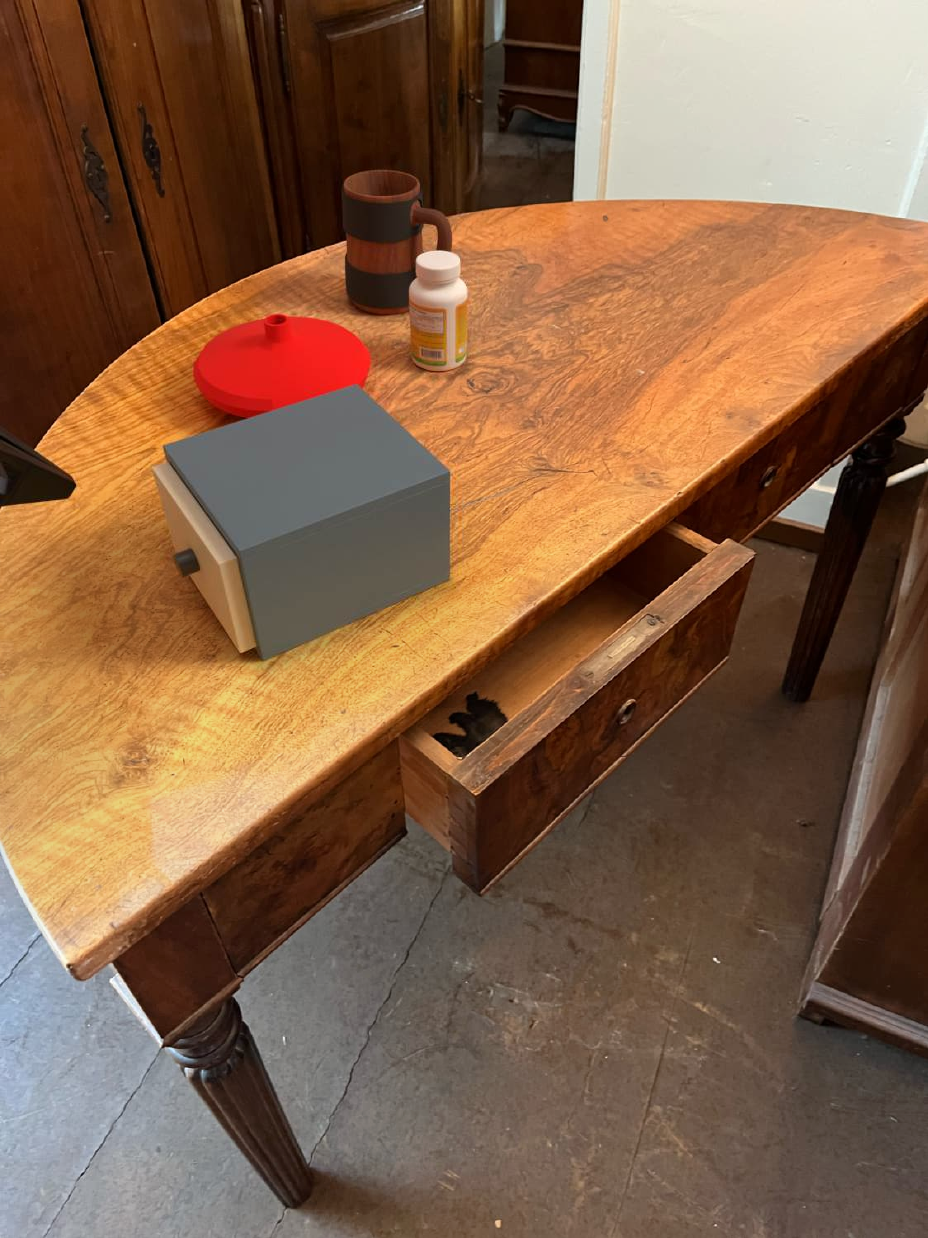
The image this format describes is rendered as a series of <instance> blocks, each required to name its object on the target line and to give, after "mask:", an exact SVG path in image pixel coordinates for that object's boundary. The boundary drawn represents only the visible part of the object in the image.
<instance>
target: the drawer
mask: <svg viewBox="0 0 928 1238" xmlns="http://www.w3.org/2000/svg"><path fill="white" fill-rule="evenodd" d="M151 471H152V475H153V478H154V482H155V486H156V489H157V492H158V496H159V500H160V503H161V506H162V511H163V513H164V516H165V520H166V524H167V527H168V530H169V533H170V537H171V541H172V545H173V548H174V551H175V553H173V554H172V560H173V563H174V565H175V568H176V570H177V572H178V574H179V575H180V577H181V578H184V577H188V576H189V577H190V579H191V580H192V582H193V583H194V585H195V586H196V588H197V589H198V591H199V592H200V594H201V595H202V597H203V598H204V600H205V602H206V603H207V604H208V606H209V608H210V609H211V611H212V613H213V614H214V616H215V617H216V618H217V621H218V622H219V623H220V625H221V627H223V629H224V631H225V632H226V634H227V635H228V637H229V638H230V640H231V641H232V643H233V645H234V646H235V648H236V649H237V651H238V652H239V654H242V653H244V652H247V651H250V650H252V649H255V648H254V647H256V646H257V644H256V639H255V635H254V631H253V626H252V622H251V617H250V613H249V608H248V604H247V599H246V595H245V590H244V586H243V581H242V577H241V573H240V568H239V564H238V559H237V556H236V553H235V551H234V550H233V549H232V547H231V546H230V544H229V543H228V542H227V540H226V539H225V538H224V536H223V535H222V533H221V532H220V531H219V529H218V528H217V526H216V525H215V524H214V522H213V521H212V520H211V518H210V517H209V515H208V514H207V513H206V511H205V510H204V508H203V509H202V508H201V506H200V505H199V504H198V502H197V501H196V499H195V498H194V497H193V495H192V494H191V492H190V491H189V490H188V488H187V487H186V485H185V484H184V483H183V481H182V480H181V478H180V477H179V476H178V474H177V473H176V472H175V470H174V469H173V467H172V466H171V465H170V463H169V462H167V461H166V462H165V461H164V462H163V463H159V464H157V465H153V466H151Z"/></svg>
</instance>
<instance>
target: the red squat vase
mask: <svg viewBox="0 0 928 1238" xmlns="http://www.w3.org/2000/svg"><path fill="white" fill-rule="evenodd" d="M371 366H372V358H371V353H370V350H369V349H368V347H367V346H366V345H365V343H364V342H363V341H362V340H361V339H360V338H359V337H358V336H357V335H356V334H355V333H353V332H352V331H350V330H349V329H347V327H344V326H342V325H340V324H337V323H334V322H332V321H330V320H325V319H320V318H315V317H308V316H295V315H289V316H288V315H287V314H283V313H273V314H269V315H267V316H265V317H264V318H260V319H255V320H250V321H246V322H243V323H240V324H238V325H235V326H231V327H230V328H227V329H226V330H224V331H222V332H220V333H219V334H217V335H215V336H214V337H213V338H212V339H210V340H209V341H208V342H207V343H206V344H205V345H204V346H203V348H202V349H201V351H199V354H198V356H197V357H196V359H195V361H194V362H193V367H192V378H193V380H194V382H195V384H196V386H197V388H198V389H199V391H200V393H201V394H202V396H203V397H204V399H206V400H207V401H208V402H209V403H210V404H212V406H214V407H215V408H217V409H219V410H221V411H223V412H225V413H227V414H230V415H232V416H236V417H241V418H245V419H248V418H251V417H254V416H257V415H260V414H263V413H267V412H270V411H273V410H276V409H279V408H282V407H285V406H289V405H292V404H295V403H298V402H301V401H304V400H307V399H311V398H314V397H317V396H320V395H323V394H326V393H330V392H333V391H336V390H339V389H342V388H345V387H348V386H352V385H355V384H357V385H358V386H359V387H360V388H362V389H363V387H364V386H365V384H366V381H367V379H368V375H369V372H370V368H371Z"/></svg>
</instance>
